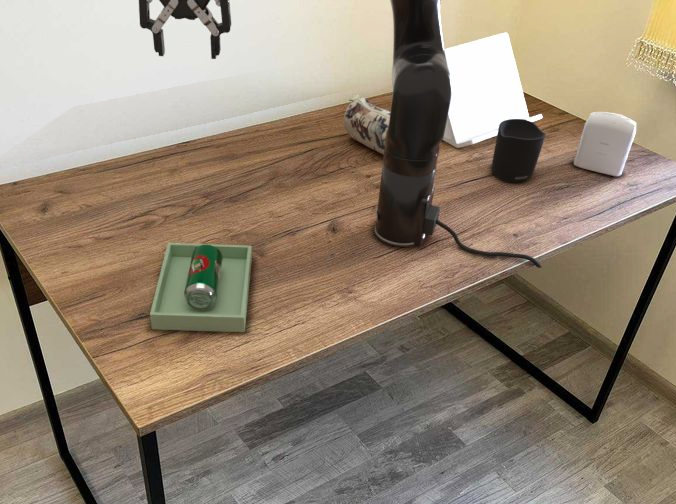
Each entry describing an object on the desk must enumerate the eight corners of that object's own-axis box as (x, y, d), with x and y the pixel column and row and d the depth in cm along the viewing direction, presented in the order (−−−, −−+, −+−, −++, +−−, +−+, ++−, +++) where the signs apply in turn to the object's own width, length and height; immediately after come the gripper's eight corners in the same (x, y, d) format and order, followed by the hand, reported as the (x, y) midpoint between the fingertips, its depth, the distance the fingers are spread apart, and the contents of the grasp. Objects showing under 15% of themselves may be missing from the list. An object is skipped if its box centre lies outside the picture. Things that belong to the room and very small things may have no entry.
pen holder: (484, 178, 154) (494, 133, 148) (494, 158, 161) (504, 115, 154) (529, 188, 152) (541, 143, 145) (537, 168, 159) (549, 124, 152)
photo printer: (570, 166, 160) (587, 112, 152) (575, 158, 163) (591, 104, 155) (619, 179, 157) (638, 124, 149) (622, 171, 160) (642, 116, 152)
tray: (169, 257, 128) (167, 242, 126) (251, 260, 128) (251, 245, 126) (151, 329, 114) (149, 314, 112) (244, 332, 114) (244, 317, 112)
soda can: (220, 270, 126) (212, 315, 117) (190, 263, 125) (180, 308, 116) (225, 246, 122) (218, 290, 114) (195, 239, 121) (185, 283, 113)
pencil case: (436, 165, 157) (444, 122, 151) (409, 178, 153) (416, 133, 146) (363, 128, 169) (367, 86, 162) (336, 138, 164) (339, 96, 158)
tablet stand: (411, 123, 172) (422, 48, 160) (484, 98, 184) (498, 28, 173) (469, 154, 162) (485, 77, 150) (541, 126, 174) (561, 53, 163)
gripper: (128, -49, 108) (140, 62, 119) (226, -44, 109) (229, 67, 120) (137, -62, 113) (148, 45, 124) (230, -57, 114) (233, 49, 125)
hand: (188, 56), depth 122 cm, fingers open, 8 cm apart
